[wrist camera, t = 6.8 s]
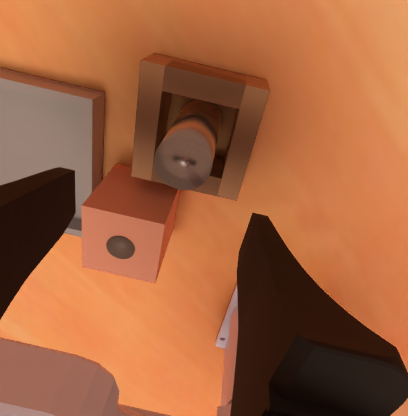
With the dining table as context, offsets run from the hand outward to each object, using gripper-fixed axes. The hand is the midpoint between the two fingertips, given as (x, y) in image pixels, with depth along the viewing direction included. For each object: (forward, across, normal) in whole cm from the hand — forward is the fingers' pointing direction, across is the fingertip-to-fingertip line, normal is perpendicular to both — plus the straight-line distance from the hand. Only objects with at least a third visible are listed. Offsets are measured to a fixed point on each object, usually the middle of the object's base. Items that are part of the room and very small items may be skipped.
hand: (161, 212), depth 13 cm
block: (+10, +3, +6) cm, 13 cm away
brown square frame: (+10, 0, -1) cm, 10 cm away
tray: (+10, +12, +4) cm, 16 cm away
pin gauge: (+10, 0, -1) cm, 10 cm away
